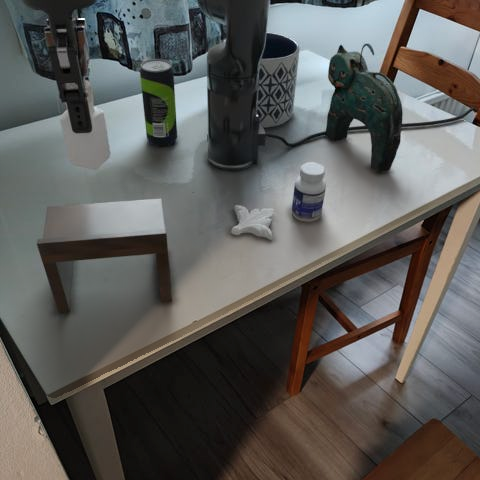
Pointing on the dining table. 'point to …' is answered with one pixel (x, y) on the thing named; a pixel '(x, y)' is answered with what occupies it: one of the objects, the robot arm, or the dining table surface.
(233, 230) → the acanthus leaf ornament
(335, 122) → the ceramic cat
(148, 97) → the beverage can
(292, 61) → the planter
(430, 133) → the dining table surface
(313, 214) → the pill bottle
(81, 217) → the wooden table
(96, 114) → the salt shaker
